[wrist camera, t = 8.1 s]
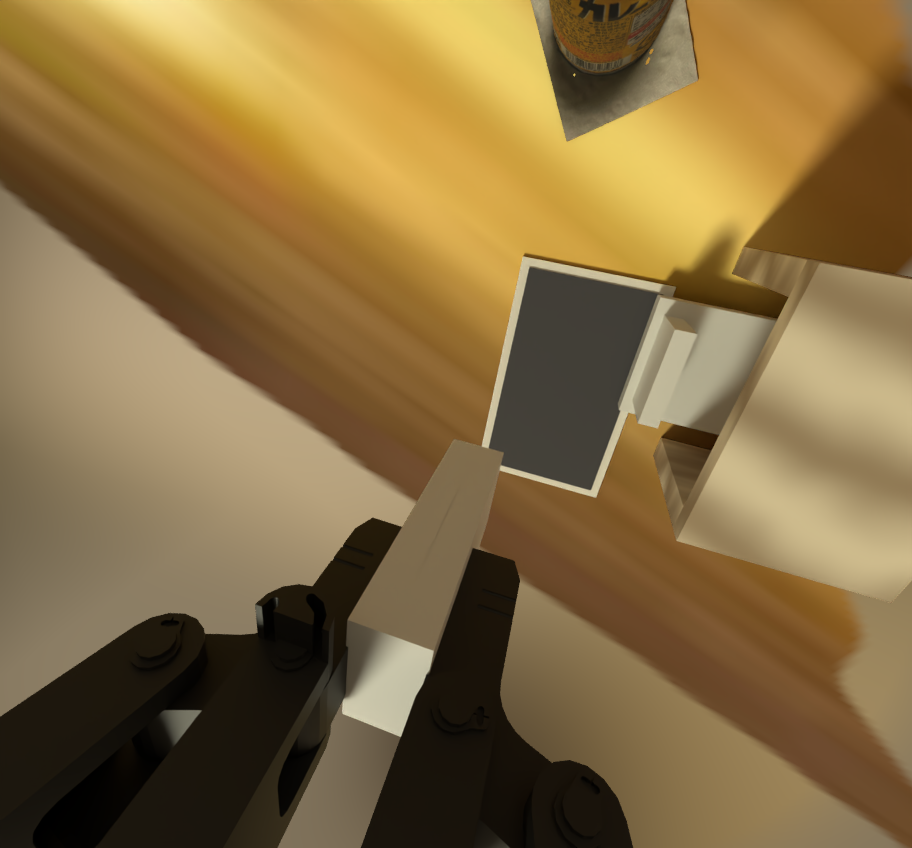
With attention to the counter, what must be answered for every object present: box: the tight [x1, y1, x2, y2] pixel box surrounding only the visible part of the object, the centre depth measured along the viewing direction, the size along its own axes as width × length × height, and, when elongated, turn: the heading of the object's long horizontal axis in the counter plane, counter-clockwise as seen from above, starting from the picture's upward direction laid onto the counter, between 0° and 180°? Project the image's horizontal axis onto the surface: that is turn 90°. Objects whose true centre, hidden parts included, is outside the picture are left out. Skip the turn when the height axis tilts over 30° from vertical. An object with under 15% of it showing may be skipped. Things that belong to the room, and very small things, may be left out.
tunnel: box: [653, 247, 912, 603], centre depth 25 cm, size 15×11×10 cm
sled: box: [618, 294, 777, 435], centre depth 25 cm, size 8×25×7 cm, turn 80°
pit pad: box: [482, 256, 676, 498], centre depth 34 cm, size 17×10×1 cm, turn 170°
